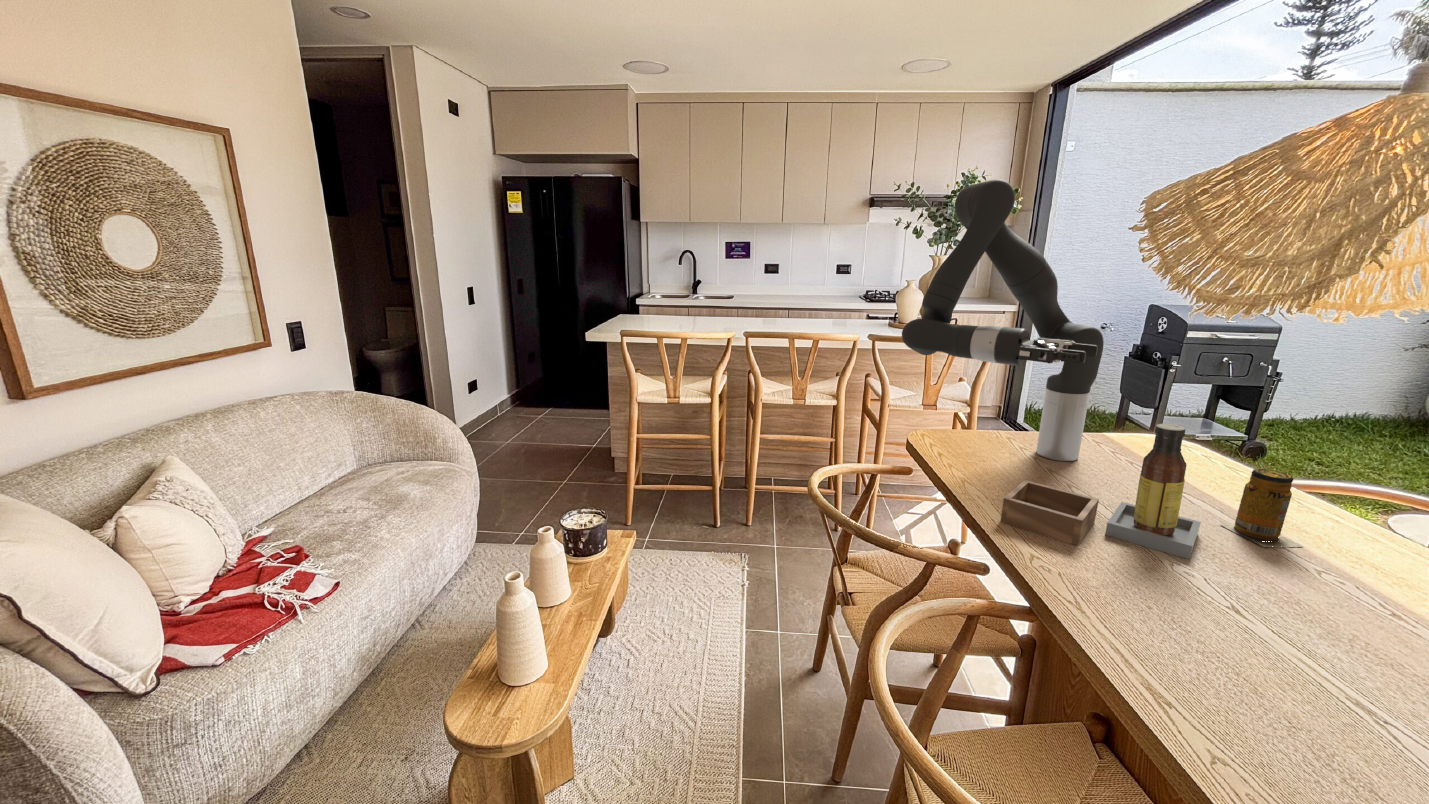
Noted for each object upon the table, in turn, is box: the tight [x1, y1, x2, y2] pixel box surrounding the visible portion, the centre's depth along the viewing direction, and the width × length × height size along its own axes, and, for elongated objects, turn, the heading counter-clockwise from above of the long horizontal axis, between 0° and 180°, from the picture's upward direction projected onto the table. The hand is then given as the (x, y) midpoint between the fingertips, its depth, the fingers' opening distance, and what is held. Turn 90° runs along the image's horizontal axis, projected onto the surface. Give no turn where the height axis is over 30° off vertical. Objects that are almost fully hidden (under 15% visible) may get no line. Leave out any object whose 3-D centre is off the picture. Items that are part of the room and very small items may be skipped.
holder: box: [1000, 479, 1100, 547], centre depth 105 cm, size 12×13×5 cm
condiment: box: [1219, 468, 1304, 549], centre depth 99 cm, size 7×8×12 cm
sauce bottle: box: [1134, 423, 1187, 536], centre depth 98 cm, size 6×6×20 cm
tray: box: [1104, 501, 1202, 560], centre depth 101 cm, size 12×12×2 cm
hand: (1091, 354), depth 102 cm, fingers open, 8 cm apart
